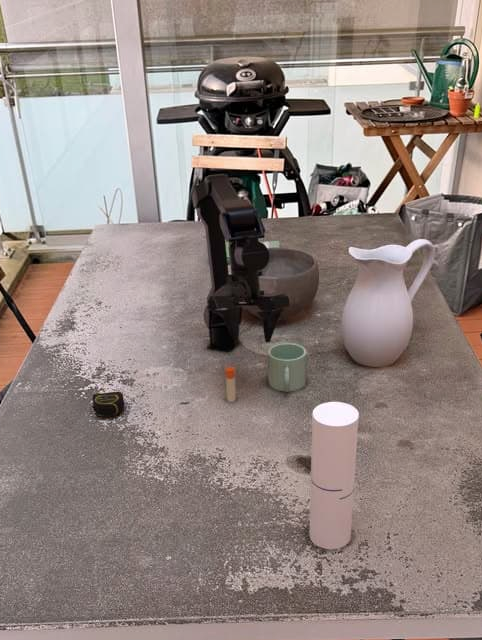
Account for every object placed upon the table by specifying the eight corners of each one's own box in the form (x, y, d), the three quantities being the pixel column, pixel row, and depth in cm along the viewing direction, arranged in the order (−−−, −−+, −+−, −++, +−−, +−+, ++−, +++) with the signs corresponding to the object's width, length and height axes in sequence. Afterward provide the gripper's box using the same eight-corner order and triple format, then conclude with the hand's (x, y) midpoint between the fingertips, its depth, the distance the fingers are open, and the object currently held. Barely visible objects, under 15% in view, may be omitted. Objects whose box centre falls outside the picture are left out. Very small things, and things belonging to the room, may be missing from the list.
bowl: (218, 323, 200) (215, 270, 192) (251, 290, 218) (250, 241, 210) (302, 336, 192) (303, 281, 184) (329, 300, 211) (331, 249, 202)
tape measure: (124, 402, 167) (122, 388, 165) (125, 418, 161) (123, 403, 159) (93, 405, 166) (91, 391, 164) (94, 421, 160) (91, 407, 158)
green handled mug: (268, 372, 176) (268, 342, 172) (305, 373, 176) (306, 342, 171) (267, 398, 167) (266, 367, 162) (306, 398, 166) (306, 367, 162)
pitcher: (365, 379, 172) (374, 265, 157) (326, 351, 185) (331, 242, 169) (445, 355, 181) (461, 245, 165) (403, 330, 194) (414, 225, 178)
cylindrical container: (306, 523, 131) (309, 403, 116) (346, 520, 131) (353, 400, 117) (312, 550, 125) (316, 427, 110) (354, 547, 125) (363, 424, 111)
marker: (225, 401, 166) (223, 369, 162) (229, 396, 168) (227, 365, 163) (233, 402, 165) (232, 371, 161) (237, 398, 167) (236, 367, 162)
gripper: (186, 274, 155) (195, 346, 160) (252, 272, 143) (260, 351, 148) (221, 266, 163) (229, 336, 168) (287, 265, 151) (294, 340, 156)
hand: (251, 341), depth 159 cm, fingers open, 9 cm apart
